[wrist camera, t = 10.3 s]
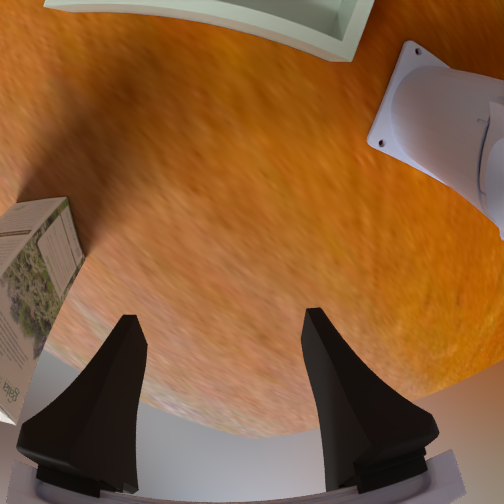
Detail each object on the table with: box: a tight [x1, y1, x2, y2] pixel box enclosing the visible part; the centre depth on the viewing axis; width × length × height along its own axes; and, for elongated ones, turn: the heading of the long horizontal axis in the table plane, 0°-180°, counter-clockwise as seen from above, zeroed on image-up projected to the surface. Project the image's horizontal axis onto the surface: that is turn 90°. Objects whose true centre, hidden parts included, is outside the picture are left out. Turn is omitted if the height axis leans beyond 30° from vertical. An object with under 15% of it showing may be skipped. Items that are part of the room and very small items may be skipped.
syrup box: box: [0, 197, 85, 425], centre depth 13 cm, size 6×6×14 cm
